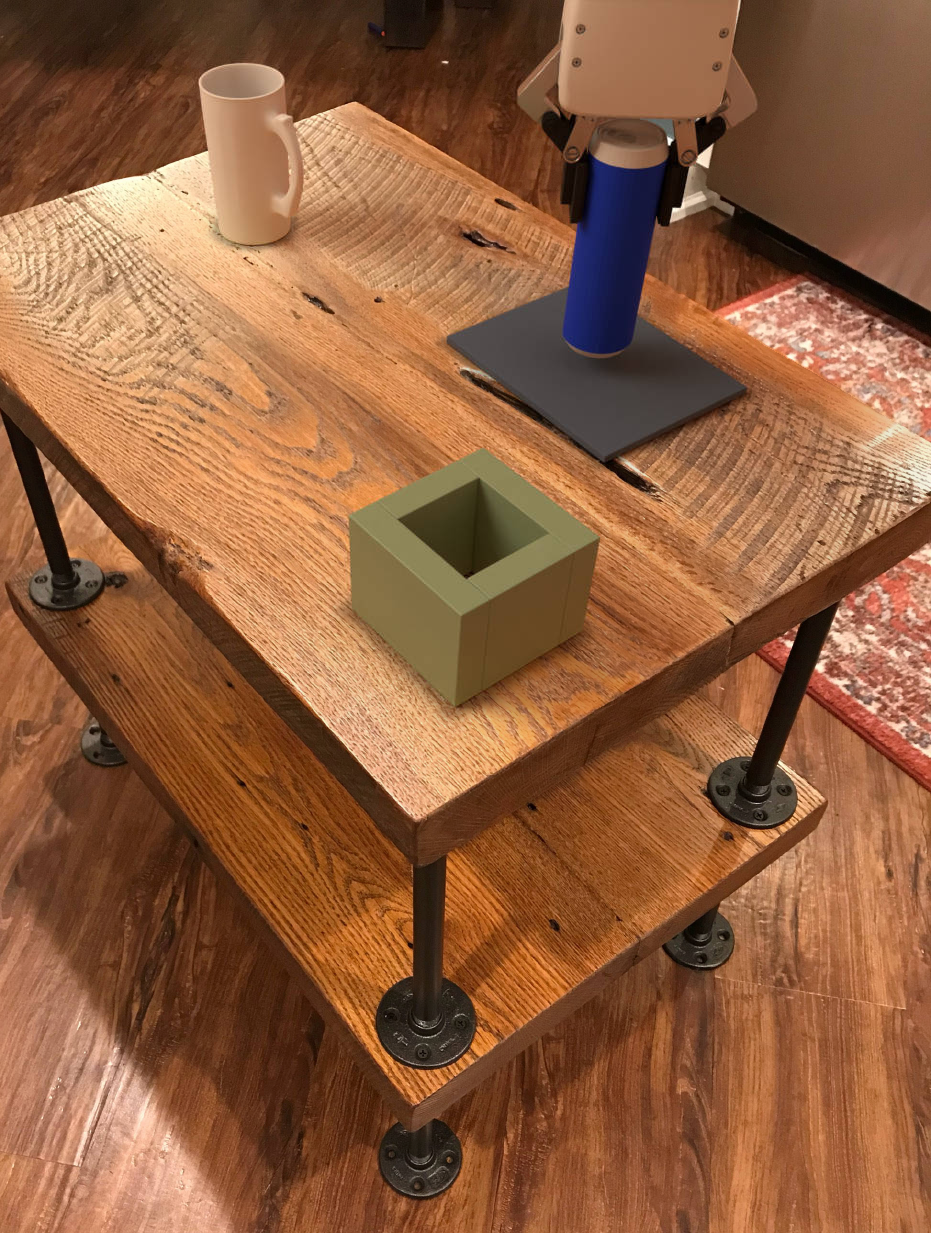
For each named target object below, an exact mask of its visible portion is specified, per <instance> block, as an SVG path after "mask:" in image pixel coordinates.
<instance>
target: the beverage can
mask: <svg viewBox="0 0 931 1233" xmlns="http://www.w3.org/2000/svg"><path fill="white" fill-rule="evenodd" d="M595 128H596V129H595V130H594V131H593V135H591V138H590V140H589V142H588V147H587V156H588V175H587V182H586V190H585V197H584V205H583V212H582V219H581V222H578V224H576V232H575V239H574V245H573V253H572V258H571V268H570V273H569V281H568V286H567V287H568V294H567V301H566V308H565V316H564V323H563V330H562V333H563V336H564V338H565V340H566V342H567V343H568V345H569V346H570V347H571V348H572V349H573V350H574V351H575V352H577V353H579V354H581V355H584V356H587V357H591V358H608V357H612V356H615V355H617V354H619V353H621V352H622V351H623V350H624V349H625V348H627V347H628V346H629V345H630V343H631V342H632V339H633V334H634V329H635V324H636V319H637V315H638V313H639V309H640V303H641V298H642V294H643V287H644V283H645V278H646V273H647V267H648V263H649V257H650V253H651V247H652V242H653V237H654V233H655V227H656V222H657V212H658V207H659V202H660V197H661V192H662V187H663V182H664V177H665V171H666V166H667V161H668V156H669V147H668V145H669V140H668V134H667V132H666V131H665V130H664V128H663V127H661V126H660V125H659V124H657V123H655V122H652V121H650V120H647V119H640V118H610V119H608V120H605V121H603V122H601V123H600V124H599V125H598V126H596V127H595Z"/></svg>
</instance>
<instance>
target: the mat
mask: <svg viewBox="0 0 931 1233" xmlns="http://www.w3.org/2000/svg"><path fill="white" fill-rule="evenodd" d="M568 287H569V286H566V287H564V288H561V289H559V290H557V291H554V292H552V293H549V294H547V295H544V296H542V297H539V298H537V299H535V300H532V301H529V302H527V303H525V304H522V305H520V306H517V307H514V308H512V309H510V310H507V311H505V312H502V313H500V314H498V315H496V316H493V317H491V318H488V319H485V320H483V321H481V322H478V323H476V324H473V325H471V326H468V327H466V328H464V329H461V330H459V331H456V332H454V333H451V334H449V335H447V336H446V343H447V344H448V345H449V346H451V347H452V348H453V349H454V350H456V351H457V352H458V353H460V354H461V355H463V357H465V358H466V359H467V360H469V361H470V362H471V363H473V364H474V365H476V367H478V368H479V369H481V370H482V371H483V372H485V374H487V375H488V376H490V377H491V378H492V379H494V380H495V381H497V383H499V384H500V385H501V386H502V387H504V388H505V389H507V390H508V391H509V392H511V393H512V394H513V395H515V396H516V397H517V398H519V399H520V400H521V401H522V402H523V403H525V404H526V405H528V406H529V407H530V408H531V409H533V410H534V411H536V413H538V414H539V415H541V416H542V417H543V418H544V419H546V420H547V421H548V422H550V423H551V424H552V425H554V426H555V427H556V428H558V430H560V431H561V432H563V433H565V434H566V435H567V436H568V437H570V438H571V439H572V440H573V441H574V442H576V443H577V444H578V445H580V446H581V447H582V448H584V449H585V450H586V451H588V452H589V453H591V454H592V455H593V456H594V457H595V458H597V459H598V460H600V461H601V462H602V463H604V464H605V463H607V462H609V461H611V460H613V459H616V458H618V457H619V456H621V455H623V454H626V453H627V452H630V451H631V450H633V449H636V448H637V447H638V448H639V447H640V446H642V445H644V444H646V443H648V442H650V441H653V440H654V439H656V438H658V437H660V436H662V435H664V434H667V433H668V432H671V431H672V430H674V429H677V428H679V427H680V426H683V425H685V424H687V423H688V422H691V421H693V420H694V419H695V420H696V418H699V417H701V416H703V415H705V414H707V413H709V412H711V411H713V410H715V409H717V408H719V407H721V406H723V405H726V404H727V403H729V402H731V401H733V400H735V399H738V398H741V397H742V396H744V395H746V393H747V390H748V386H747V385H745V384H743V383H742V382H740V381H739V380H738V379H736V378H735V377H732V376H731V375H730V374H728V373H727V372H726V371H723V370H722V369H720V368H719V367H717V366H716V365H714V364H713V363H711V362H709V361H708V360H707V359H705V358H703V357H702V356H701V355H699V354H698V353H696V352H694V351H693V350H691V349H690V348H688V347H687V346H685V345H684V344H682V343H681V342H679V341H678V340H676V339H675V338H673V337H672V336H670V335H668V334H666V333H665V332H664V331H662V330H660V328H658V327H657V326H655V325H653V324H652V323H650V322H649V321H647V320H645V319H644V318H642V317H641V316H639V315H638V314H637V319H636V324H635V329H634V334H633V339H632V342H631V343H630V345H629V346H628V347H627V348H625V349H624V350H623V351H622V352H621V353H619V354H617V355H615V356H612V357H608V358H591V357H587V356H584V355H581V354H579V353H577V352H575V351H574V350H573V349H572V348H571V347H570V346H569V345H568V343H567V342H566V340H565V338H564V336H563V333H562V330H563V323H564V316H565V308H566V301H567V294H568Z"/></svg>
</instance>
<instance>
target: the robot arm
mask: <svg viewBox="0 0 931 1233" xmlns="http://www.w3.org/2000/svg"><path fill="white" fill-rule="evenodd" d="M739 1H740V0H564V1H563V2H564V3H563V9H562V16H561V22H560V29H559V37H558V43H557V44H556V45H555V46H554V47H553V48H552V49H551V51H550V52H549V53H548V54H547V55H546V56H545V57H544V58H543V59H542V61H541V62H540V63H539V64H538V65H537V66H536V67H535V69H533V71H532V72H531V73H530V74H529V75H528V76H527V77H526V79H524V81H523V82H522V83H521V84H520V85H519V86H518V89H517V91H516V102H517V105H518V107H519V108H520V109H521V110H523V112H525V113H526V115H527V116H528V117H529V118H530V119H532V120H533V121H534V122H535V123H536V124H538V125H539V126H540V127H541V129H542V131H543V132H544V134H545V135H546V136H547V137H548V138H549V139H550V141H551V142H552V143H553V144H554V146H555V147H556V148H557V149H558V151H560V152H561V154H562V156H563V167H562V174H561V185H560V193H559V194H560V195H559V203H560V204H559V205H564V206H566V205H568V214H569V224H572V225H573V224H575V225H577V224H578V222H581V219H582V212H583V205H584V197H585V190H586V182H587V175H588V156H587V153H588V147H587V145H588V144H589V142H590V140H591V137H592V133H594V131H595V130H594V129H595V128H596V125H597V123H598V121H599V118H610V119H617V118H637V119H642V120H647V119H648V120H671V121H672V122H671V124H672V130H673V138H674V139H673V140H672V141H670V144H668V147H669V156H668V161H667V166H666V171H665V177H664V182H663V187H662V192H661V197H660V202H659V207H658V212H657V217H656V222H657V225H660V227H666V228H668V227H670V225H671V220H672V215H673V209H681V208H682V205H683V201H684V196H685V191H686V186H687V182H688V178H689V172H690V167H691V166H693V165H694V164H696V162H697V161H698V159H699V156H700V155H702V153H704V152H705V151H706V150H708V148H710V147H711V146H712V145H714V144H715V143H716V142H717V141H718V140H720V139H721V138H722V137H724V135H725V133H726V132H727V131H728V130H730V129H733V128H734V127H735V126H737V125H738V124H740V123H742V122H743V121H744V120H746V119H747V118H748V117H750V116H752V115H753V114H754V113H755V112H756V111H757V109H758V106H759V104H758V100H757V97H756V94H755V91H754V89H753V88H752V87H751V84H750V83H749V81H748V79H747V77H746V76H745V74H744V72H743V70H742V68H741V66H740V65H739V62H738V61H737V59H736V57H735V56H734V54H733V47H734V40H735V32H736V25H737V18H738V9H739V3H740V2H739ZM556 84H557V85H558V102H559V105H560V107H561V108H562V109H563V110H564V111H566V112H567V113H569V116H568V117H567V116H566V115H565V113H564V112H563V111H562V110H561V108H560V107H559V106H558V105H557V104H555V103H553V102H552V101H551V100H550V99H549V97H547V94H548V93H549V92H550V91H551V90H552V88H553V87H554V86H555V85H556ZM725 92H726V94H727V97H726V99H725V100H724V101H723V98H724V94H725ZM722 101H723V102H722ZM696 119H697V120H696ZM695 120H696V121H695Z"/></svg>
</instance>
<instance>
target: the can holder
mask: <svg viewBox="0 0 931 1233" xmlns="http://www.w3.org/2000/svg"><path fill="white" fill-rule="evenodd" d="M348 540H349V542H348V543H349V570H350V571H349V573H350V600H351V609H352V611H353V612H354V613H356V614H357V615H358V616H359V617H360V618H361V619H362V620H363V621H364V622H365V623H366V624H367V625H368V626H369V627H370V628H371V629H372V630H373V631H374V632H376V633H377V634H378V635H379V636H380V637H381V638H382V639H383V640H384V642H386V643H387V644H388V645H389V646H390V647H391V648H392V649H393V650H394V651H396V653H397V654H399V656H400V657H402V658H403V660H404V661H406V662H407V663H408V664H409V665H410V666H411V667H412V668H413V669H414V670H415V671H416V672H417V673H418V674H419V675H420V676H421V677H422V678H423V679H424V680H426V682H428V683H429V684H430V685H431V686H432V687H433V688H434V690H436V691H437V692H438V693H439V694H440V695H441V696H442V697H443V698H445V699H446V701H447V702H449V704H451V706H452V707H453V708H457V707H459V706H460V705H462V704H464V703H465V702H467V701H468V700H470V699H471V698H473V697H475V696H477V695H479V694H481V692H484V691H485V690H487V689H489V688H490V687H492V686H493V685H495V684H497V683H499V682H500V681H502V680H503V679H505V678H507V677H509V676H510V675H512V674H514V673H515V672H516V671H519V670H520V669H522V668H523V667H525V666H527V665H528V664H530V663H531V662H533V661H535V660H537V659H539V658H540V657H542V656H543V655H545V654H547V653H548V652H549V651H551V650H553V649H555V648H557V647H558V646H560V645H562V644H563V643H565V642H567V641H569V640H570V639H572V638H573V637H575V636H576V635H578V634H580V633H581V632H583V630H584V625H585V621H586V616H587V615H586V614H587V609H588V605H589V599H590V594H591V589H592V583H593V579H594V574H595V573H594V572H595V568H596V562H597V558H598V553H599V546H600V542H601V536H600V535H598V534H597V533H596V532H595V531H593V530H592V529H591V528H589V527H588V526H587V525H585V524H584V523H582V522H581V521H580V520H579V519H577V518H576V517H575V516H574V515H573V514H571V513H570V512H568V511H567V510H565V508H563V507H562V506H561V505H559V504H558V503H556V502H555V501H554V500H553V499H552V498H550V497H549V496H547V495H546V494H545V493H543V492H542V490H540V489H538V488H537V487H536V486H535V485H533V484H532V483H531V482H529V481H528V480H526V479H525V478H524V477H522V476H521V475H520V474H519V473H518V472H516V471H515V470H513V468H511V467H510V466H509V465H507V464H506V463H504V462H503V461H502V460H500V459H499V458H498V457H497V456H495V455H494V454H493V453H491V452H490V451H489V450H487V449H486V448H484V447H481V448H479V449H477V450H475V451H474V452H471V453H469V454H467V455H466V456H463V457H461V458H459V459H458V460H455V461H453V462H451V463H449V464H447V465H445V466H443V467H441V468H439V469H437V470H435V471H433V472H431V473H429V474H428V475H425V476H423V477H421V478H419V479H417V480H415V481H413V482H411V483H409V484H407V485H405V486H403V487H400V488H399V489H397V490H395V491H393V492H391V493H389V494H387V495H385V496H383V497H381V498H379V499H377V500H376V501H373V502H371V503H369V504H367V505H365V506H363V507H361V508H359V509H357V510H355V511H353V512H351V513H349V514H348ZM471 572H472V573H474V574H472V575H471V576H469V577H467V578H466V577H465V576H467V575H468V574H470V573H471Z"/></svg>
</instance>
